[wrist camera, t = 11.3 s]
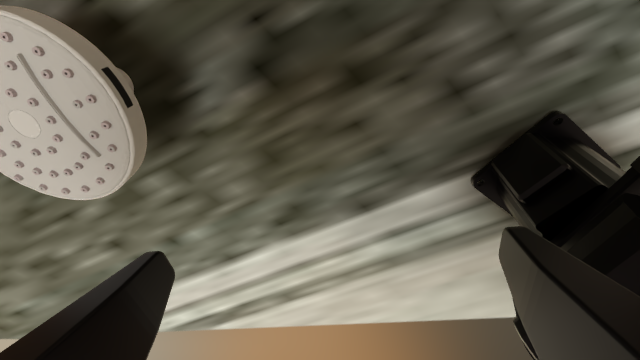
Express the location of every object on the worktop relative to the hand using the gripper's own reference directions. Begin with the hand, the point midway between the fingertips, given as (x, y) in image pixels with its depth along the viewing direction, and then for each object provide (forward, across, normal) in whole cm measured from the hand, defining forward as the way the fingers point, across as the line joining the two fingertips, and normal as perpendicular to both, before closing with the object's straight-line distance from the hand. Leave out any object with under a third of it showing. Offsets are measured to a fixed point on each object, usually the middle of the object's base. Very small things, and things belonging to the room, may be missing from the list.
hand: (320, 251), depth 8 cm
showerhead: (+13, +14, -3) cm, 20 cm away
